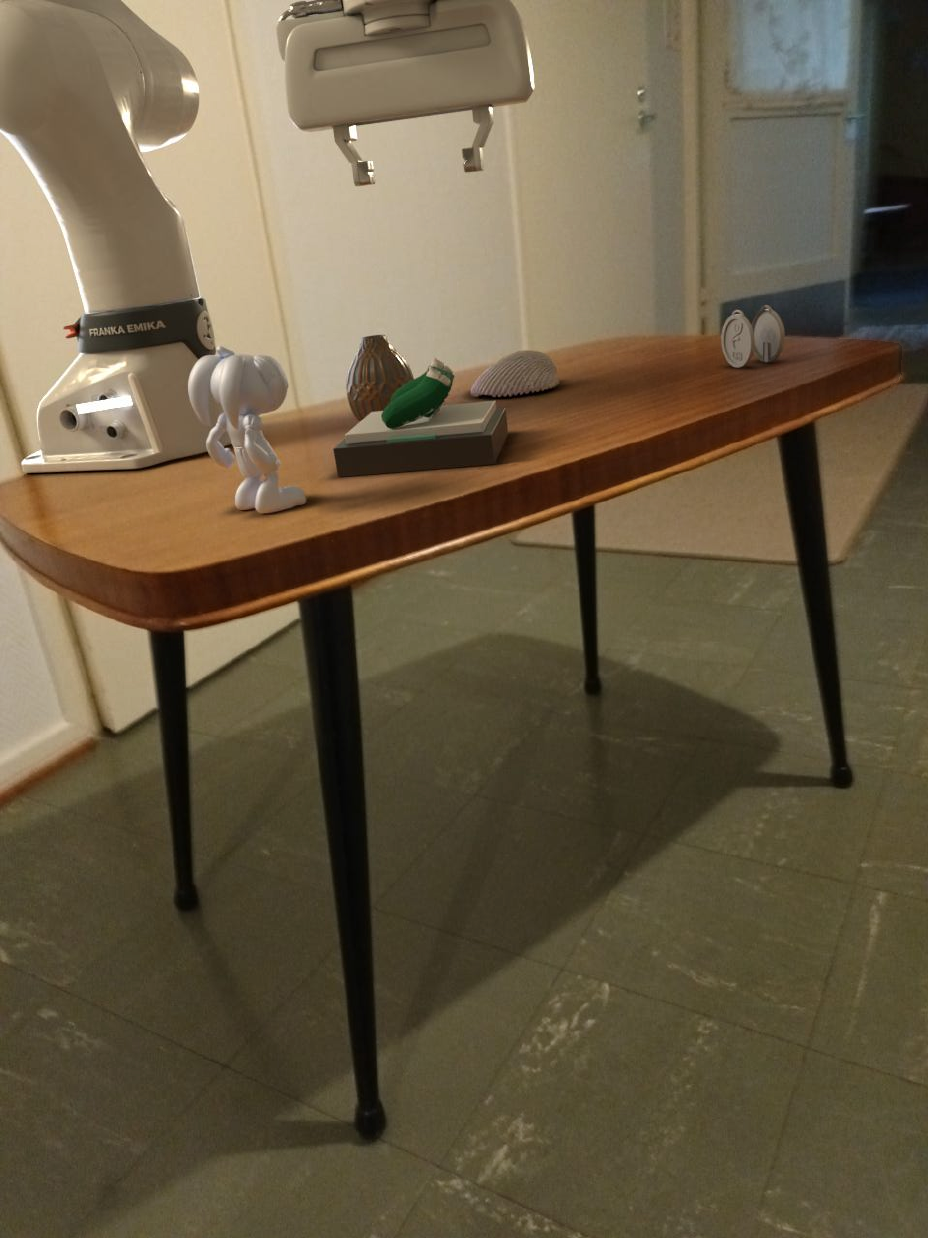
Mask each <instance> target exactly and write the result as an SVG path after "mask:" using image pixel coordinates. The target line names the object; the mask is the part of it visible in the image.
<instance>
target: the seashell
mask: <svg viewBox="0 0 928 1238" xmlns="http://www.w3.org/2000/svg"><path fill="white" fill-rule="evenodd" d="M557 373H558V371H557V366H556V364H555V361H554V360H553V359H552V358H551V356H549V355H548V354H546V353H544V352H542V351H538V350H531V349H529V350H528V349H527V350H518V351H516V352H515V351H514V352H512V353H509V354H508V355H505V356H503V357H502V358H500V359H498V360H497V361H495V362H494V363H493V364H491V365H490V366H488V367H487V368H486V369H485V370H484V371H483V372H482V373H481V374H480V375H479V376H478V378H477V379H475V382H474V383H473V384H472V386H471V389H470V395H471V396H472V397H474V398H475V397H476V398H479V397H481V396H482V395H484V396H491V397H492V398H497V397H498V398H501V397H502V398H503V397H507V396H509V398H510V397H512V396H513V395H514V396H518V395H520V396H521V395H523V394H524V393H525V394H526V395H527V394H529V393H530V392H531V393H532V394H533V393H534V392H536V393H538V392H540V391H541V392H543V391H544V390H548V389H552V388H555V387H557V386H558V385H559V384H560V379H559V378H558V377H557Z"/></svg>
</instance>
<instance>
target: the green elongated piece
mask: <svg viewBox="0 0 928 1238" xmlns="http://www.w3.org/2000/svg"><path fill="white" fill-rule="evenodd" d="M454 380H455V374H454V371H453V370H452V368H451V367H449V366H448V365H445V363H444V362H443V361H442V360H439V359H437V358H436V357H432V362H431V364H430V365H428V367H427V370H426V371H425V372H424V373H423V374H421V375H420V376H418V377H415V378H414V380H412V381H410V382H408V383H406V384H404V385H403V386H401V387H400V388H399V389H397V390H396V391H395V392H394V393H393V395H392V397H391V399H390V404H388V405H387V407H386V408H385V409H384V410H383V412H382V414H381V417H382V421H383V422H384V423H385V425H386V426H387V428H390V429H391V428H396V427H400V426H402V425H405V424H408V423H411V422H413V421H416V420H418V419H420V418H422V417H423V416H424V417H428V418H429V417H431V416H432V414H433V417H432V418H436V417H437V416H438V414H439V413H440V411H441V406H442V405H444V403H445V401H446V399H447V398H448V397H449V395H450V394H449V393H450V392H451V390H452V387H453V383H454Z"/></svg>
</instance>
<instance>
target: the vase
mask: <svg viewBox="0 0 928 1238" xmlns="http://www.w3.org/2000/svg"><path fill="white" fill-rule="evenodd" d="M414 379H415V377H414V373H413V372H412V369H411V368H410V365H409V364H408V362H407V360H406V359H405V358H404V357H403V355H401V354H400V352H398V350H397V349H396V348H394V346H393V345H392V344H391V342H390V341H389V339H388V337H387V336H386V335H385V334H373V335H368V336H363V337H361V338H360V342H359V346H358V349H357V351H356V353H355V355H354V357H353V358H352V361H351V363H350V365H349V367H348V370H347V375H346V383H345V388H346V397H347V401H348V405H349V407H350V410H351V412H352V414H353V416H354V417H355V418H356V420H357V421H358V423H359V422H361V421H362V420H363V419H364V418H365V417H366V416H368V415H369V414H370V413H371V412H378V411H383V410H384V409H385V408H386V407H387V405H388V404H390V399H391V397H392V395H393V393H394V392H395V391H396V390H397V389H399V388H400V387H401V386H403V385H404V384H406V383H408V382H410V381H412V380H414Z"/></svg>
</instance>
